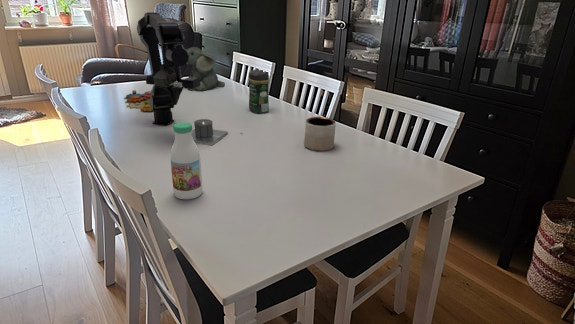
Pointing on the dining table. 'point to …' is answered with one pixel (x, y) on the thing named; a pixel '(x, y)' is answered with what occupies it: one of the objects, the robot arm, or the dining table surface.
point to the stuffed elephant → (203, 69)
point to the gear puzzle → (139, 101)
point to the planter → (319, 133)
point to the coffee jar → (258, 91)
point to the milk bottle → (185, 163)
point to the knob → (203, 128)
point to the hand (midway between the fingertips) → (175, 104)
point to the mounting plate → (209, 140)
